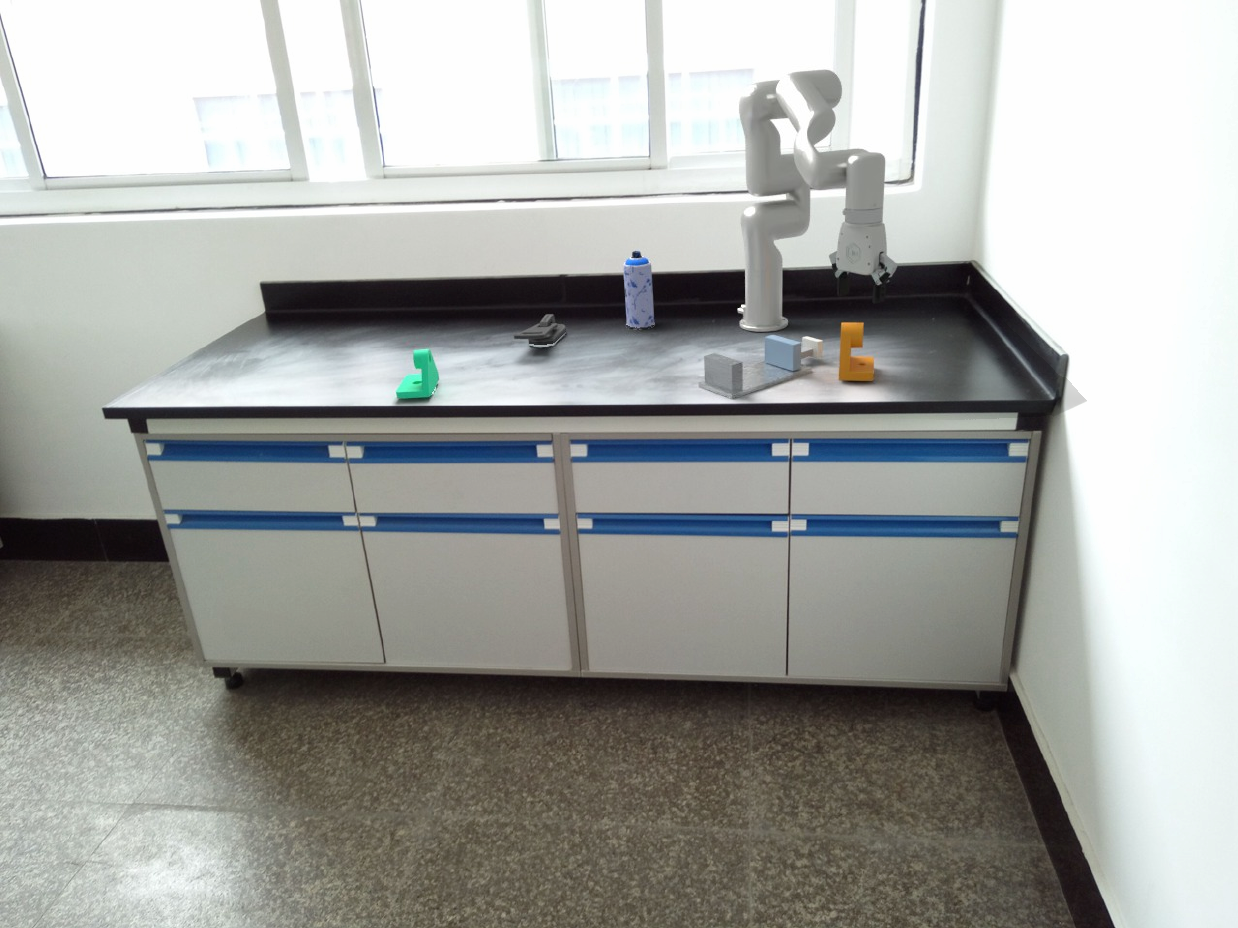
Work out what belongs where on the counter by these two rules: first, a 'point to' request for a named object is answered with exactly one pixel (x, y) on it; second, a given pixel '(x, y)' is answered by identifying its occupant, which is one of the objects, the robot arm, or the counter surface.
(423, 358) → the camera mount
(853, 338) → the bracket
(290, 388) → the counter surface
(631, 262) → the aerosol can
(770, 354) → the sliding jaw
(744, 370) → the vise
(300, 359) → the counter surface
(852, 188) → the robot arm
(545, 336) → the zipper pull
